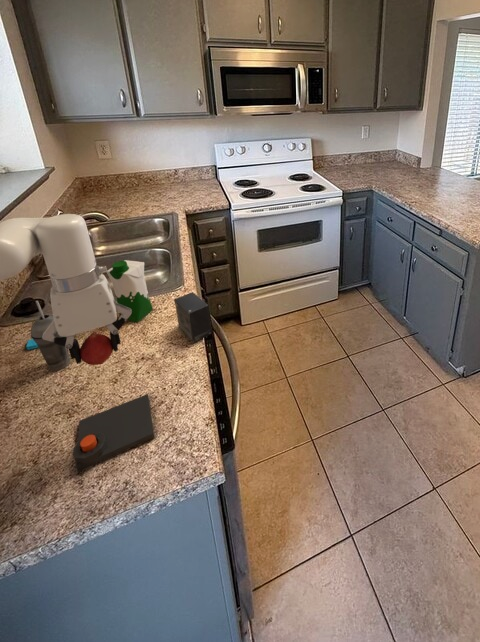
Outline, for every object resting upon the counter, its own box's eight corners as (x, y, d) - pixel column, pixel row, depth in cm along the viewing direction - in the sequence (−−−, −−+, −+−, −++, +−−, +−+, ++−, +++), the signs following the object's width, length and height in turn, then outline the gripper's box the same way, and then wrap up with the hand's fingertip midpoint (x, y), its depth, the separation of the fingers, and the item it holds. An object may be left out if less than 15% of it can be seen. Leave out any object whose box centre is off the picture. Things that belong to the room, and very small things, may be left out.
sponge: (29, 336, 107) (23, 346, 102) (76, 324, 112) (73, 333, 107) (31, 340, 108) (25, 351, 102) (77, 329, 113) (74, 338, 107)
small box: (213, 333, 108) (209, 304, 105) (193, 344, 104) (187, 314, 101) (197, 318, 116) (193, 290, 112) (178, 327, 111) (172, 299, 108)
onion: (86, 378, 72) (75, 346, 69) (83, 361, 76) (74, 330, 74) (118, 365, 75) (110, 334, 72) (114, 350, 79) (106, 320, 77)
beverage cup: (51, 378, 93) (28, 314, 86) (38, 368, 96) (15, 305, 90) (80, 361, 99) (61, 299, 92) (68, 351, 102) (48, 291, 96)
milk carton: (115, 320, 115) (101, 266, 109) (136, 304, 124) (123, 252, 117) (138, 324, 113) (125, 269, 106) (157, 308, 121) (146, 255, 115)
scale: (75, 474, 70) (72, 463, 69) (79, 425, 80) (76, 415, 79) (154, 438, 77) (152, 428, 76) (149, 398, 87) (146, 388, 86)
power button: (81, 454, 71) (79, 449, 70) (82, 443, 73) (80, 438, 72) (96, 448, 72) (95, 442, 72) (97, 437, 74) (95, 432, 74)
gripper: (125, 258, 76) (141, 329, 82) (23, 281, 68) (49, 357, 74) (127, 274, 70) (144, 348, 76) (15, 301, 61) (45, 382, 68)
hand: (97, 352), depth 75 cm, fingers closed on onion, 6 cm apart
